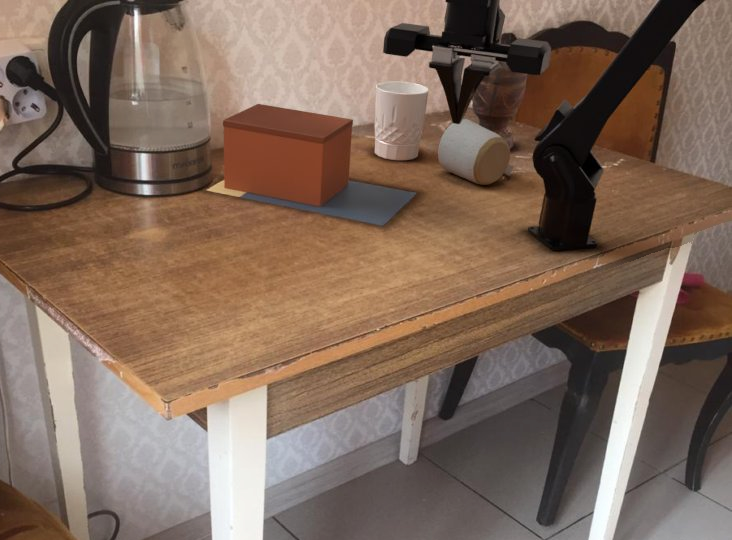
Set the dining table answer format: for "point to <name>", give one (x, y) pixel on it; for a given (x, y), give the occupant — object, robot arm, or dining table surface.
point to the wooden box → (287, 154)
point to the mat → (343, 202)
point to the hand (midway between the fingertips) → (456, 123)
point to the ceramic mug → (474, 153)
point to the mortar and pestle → (499, 100)
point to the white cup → (399, 119)
